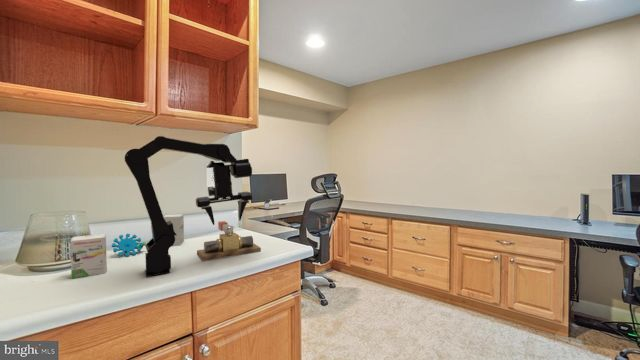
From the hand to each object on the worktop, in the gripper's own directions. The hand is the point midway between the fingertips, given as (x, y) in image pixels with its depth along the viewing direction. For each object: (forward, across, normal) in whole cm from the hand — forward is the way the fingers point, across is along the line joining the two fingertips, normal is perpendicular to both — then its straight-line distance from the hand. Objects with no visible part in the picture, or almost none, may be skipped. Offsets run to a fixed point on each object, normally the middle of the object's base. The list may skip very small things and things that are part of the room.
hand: (227, 222), depth 103 cm
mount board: (+14, -1, -8) cm, 16 cm away
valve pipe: (+14, -1, -8) cm, 16 cm away
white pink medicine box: (+10, +42, -7) cm, 43 cm away
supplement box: (+13, +17, -34) cm, 40 cm away
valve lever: (+6, -2, -13) cm, 15 cm away
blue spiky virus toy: (+11, +33, -26) cm, 43 cm away
